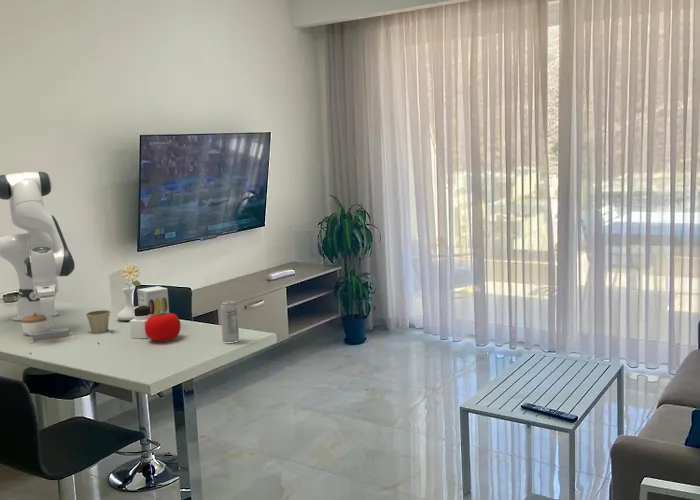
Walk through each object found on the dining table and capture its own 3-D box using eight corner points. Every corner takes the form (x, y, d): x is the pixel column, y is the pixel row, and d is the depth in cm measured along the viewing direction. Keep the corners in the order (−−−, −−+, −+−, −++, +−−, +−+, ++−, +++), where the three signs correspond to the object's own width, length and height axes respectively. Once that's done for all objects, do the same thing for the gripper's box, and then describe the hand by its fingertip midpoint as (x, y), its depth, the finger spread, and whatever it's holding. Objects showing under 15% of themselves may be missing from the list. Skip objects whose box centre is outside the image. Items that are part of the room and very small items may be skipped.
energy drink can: (233, 338, 252) (230, 300, 250) (242, 341, 248) (239, 302, 246) (219, 342, 248) (216, 303, 246) (228, 345, 244) (226, 304, 242)
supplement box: (149, 332, 268) (145, 291, 265) (139, 329, 275) (136, 289, 272) (171, 328, 274) (168, 287, 272) (161, 324, 281) (158, 285, 278)
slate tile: (33, 338, 263) (32, 332, 263) (68, 333, 269) (68, 327, 268) (33, 341, 258) (32, 335, 258) (69, 336, 263) (68, 330, 263)
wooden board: (29, 340, 265) (29, 337, 264) (72, 334, 271) (72, 331, 271) (29, 346, 256) (29, 343, 255) (74, 339, 262) (73, 337, 262)
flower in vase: (111, 321, 290) (105, 265, 287) (129, 315, 301) (124, 261, 297) (135, 323, 285) (130, 265, 282) (152, 317, 296) (147, 261, 293)
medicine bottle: (157, 334, 265) (154, 304, 263) (146, 339, 258) (143, 308, 257) (142, 333, 267) (139, 304, 266) (130, 338, 260) (128, 308, 259)
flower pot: (91, 331, 275) (89, 310, 274) (114, 329, 276) (113, 309, 274) (84, 337, 266) (82, 315, 264) (108, 335, 266) (106, 314, 265)
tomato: (171, 344, 248) (169, 317, 247) (139, 344, 250) (137, 317, 249) (187, 334, 262) (185, 308, 261) (157, 334, 264) (155, 308, 263)
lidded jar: (40, 339, 265) (38, 316, 264) (17, 339, 268) (14, 316, 266) (57, 332, 276) (55, 310, 274) (34, 332, 278) (32, 310, 277)
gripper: (36, 286, 268) (40, 319, 270) (37, 293, 250) (41, 329, 252) (53, 284, 271) (57, 317, 273) (55, 291, 253) (59, 326, 254)
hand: (49, 323), depth 262 cm, fingers open, 8 cm apart
